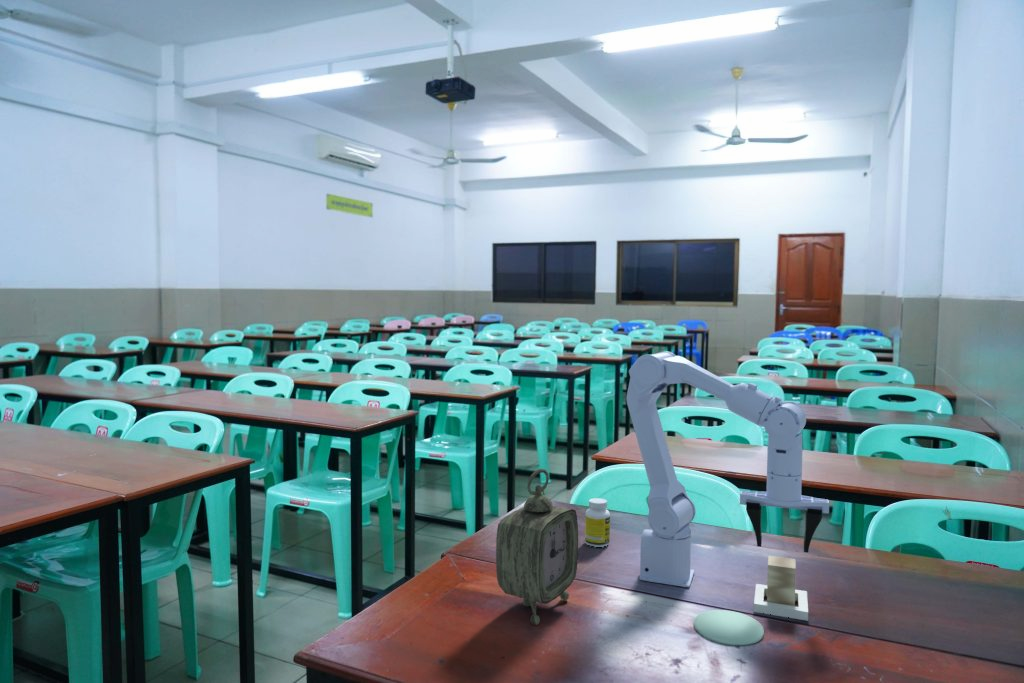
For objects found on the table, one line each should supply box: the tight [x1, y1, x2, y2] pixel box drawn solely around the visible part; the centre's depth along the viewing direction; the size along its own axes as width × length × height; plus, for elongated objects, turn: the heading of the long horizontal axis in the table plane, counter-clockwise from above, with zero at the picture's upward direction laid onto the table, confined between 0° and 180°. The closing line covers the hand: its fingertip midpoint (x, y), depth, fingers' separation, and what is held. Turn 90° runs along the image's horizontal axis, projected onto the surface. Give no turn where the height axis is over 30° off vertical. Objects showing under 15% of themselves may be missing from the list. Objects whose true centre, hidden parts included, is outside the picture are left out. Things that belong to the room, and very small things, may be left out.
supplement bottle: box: [584, 497, 611, 548], centre depth 151 cm, size 5×5×10 cm
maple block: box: [766, 555, 797, 606], centre depth 121 cm, size 4×4×8 cm
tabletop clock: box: [495, 468, 579, 626], centre depth 119 cm, size 14×9×25 cm, turn 148°
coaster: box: [693, 609, 765, 646], centre depth 113 cm, size 11×11×1 cm
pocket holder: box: [753, 583, 809, 622], centre depth 121 cm, size 9×9×2 cm
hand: (782, 547), depth 121 cm, fingers open, 7 cm apart
